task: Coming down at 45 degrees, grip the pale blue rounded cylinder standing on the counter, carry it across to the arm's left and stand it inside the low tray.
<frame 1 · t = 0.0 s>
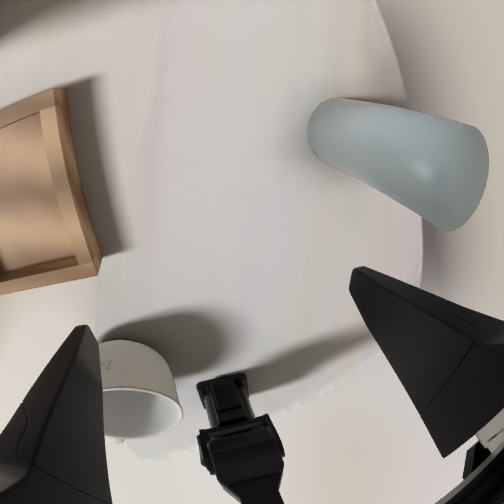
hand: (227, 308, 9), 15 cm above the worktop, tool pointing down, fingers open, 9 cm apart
teacup: (121, 364, 29), on the worktop
tray: (17, 197, 17), on the worktop
pale blue rounded cylinder: (338, 131, 22), on the worktop
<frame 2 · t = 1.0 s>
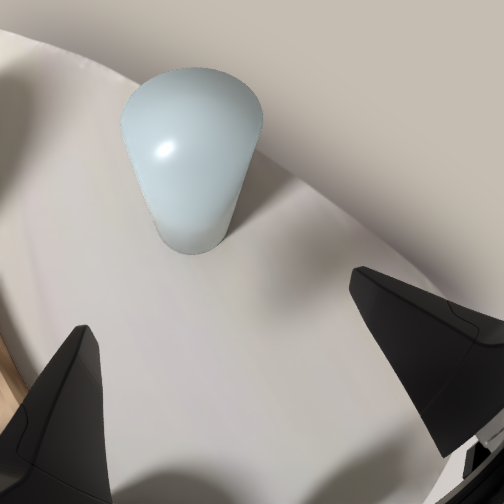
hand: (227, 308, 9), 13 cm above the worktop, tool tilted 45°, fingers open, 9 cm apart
pale blue rounded cylinder: (192, 218, 23), on the worktop
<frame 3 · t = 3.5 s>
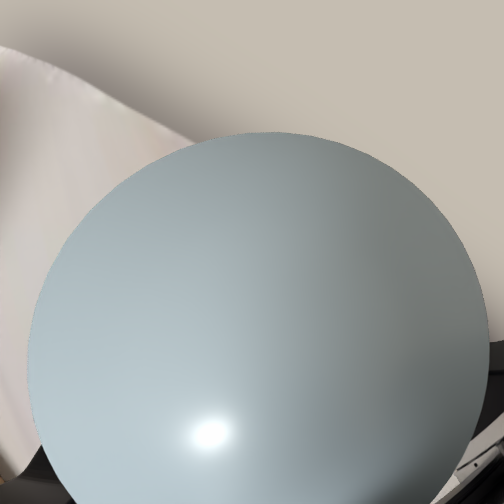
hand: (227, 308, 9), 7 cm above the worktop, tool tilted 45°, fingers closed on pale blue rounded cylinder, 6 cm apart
pale blue rounded cylinder: (221, 341, 15), on the worktop, touching gripper
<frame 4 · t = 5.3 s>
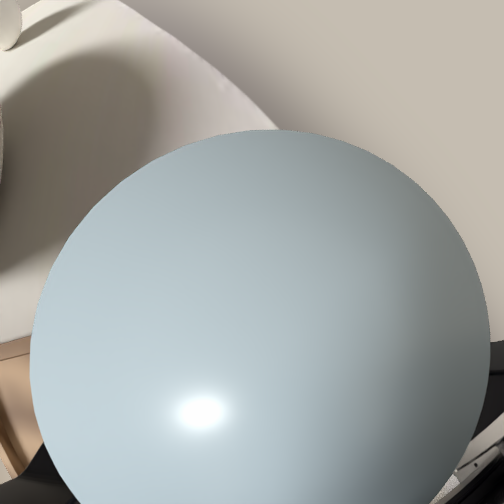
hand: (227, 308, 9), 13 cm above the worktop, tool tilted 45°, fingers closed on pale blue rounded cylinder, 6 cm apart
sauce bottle: (10, 47, 25), on the worktop
tray: (42, 419, 17), on the worktop
pale blue rounded cylinder: (222, 340, 15), point 7 cm above the worktop, touching gripper
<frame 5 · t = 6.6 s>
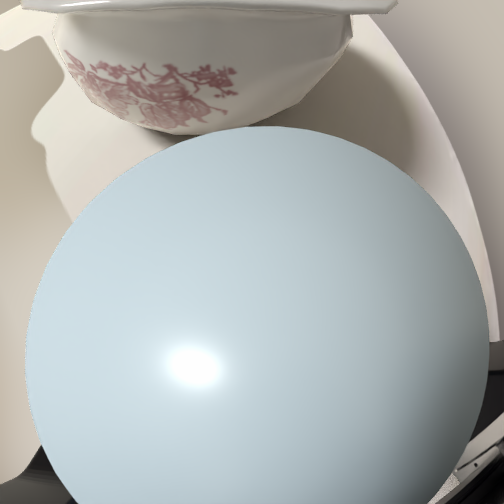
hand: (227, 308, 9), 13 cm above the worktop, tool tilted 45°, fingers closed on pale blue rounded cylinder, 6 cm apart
chamber pot: (197, 78, 27), on the worktop
pale blue rounded cylinder: (221, 339, 15), point 6 cm above the worktop, touching gripper
when the fingers open (9 cm above the worktop, at t = 7.6 s): pale blue rounded cylinder drops 1 cm, resting on tray.
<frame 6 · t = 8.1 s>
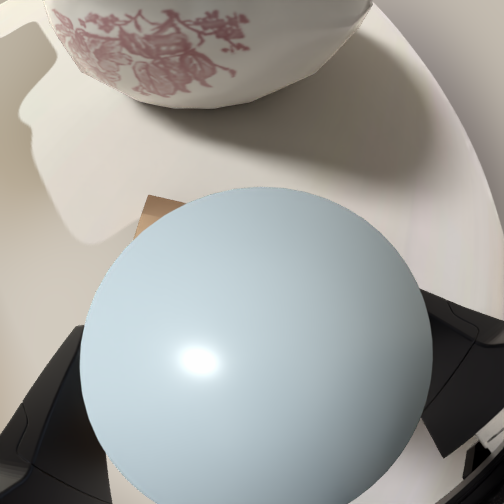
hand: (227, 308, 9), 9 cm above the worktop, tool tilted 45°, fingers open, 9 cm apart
tray: (218, 338, 17), on the worktop
chamber pot: (199, 55, 23), on the worktop
pale blue rounded cylinder: (220, 339, 16), point 1 cm above the worktop, touching tray
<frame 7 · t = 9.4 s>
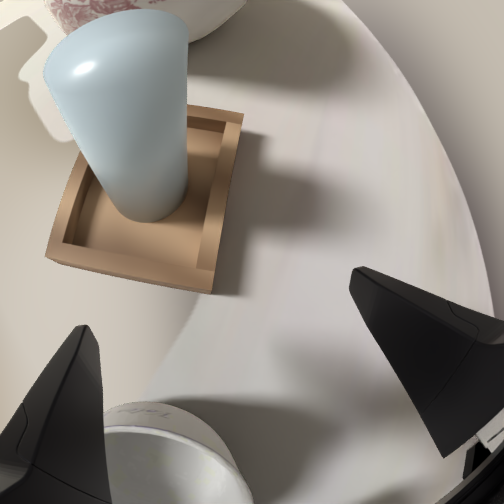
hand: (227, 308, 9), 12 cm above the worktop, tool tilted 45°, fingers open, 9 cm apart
teacup: (149, 462, 17), on the worktop
tray: (150, 190, 21), on the worktop
chamber pot: (153, 24, 27), on the worktop
pale blue rounded cylinder: (148, 184, 20), point 1 cm above the worktop, touching tray
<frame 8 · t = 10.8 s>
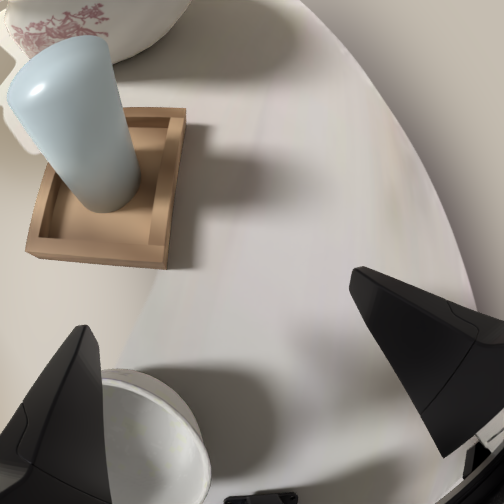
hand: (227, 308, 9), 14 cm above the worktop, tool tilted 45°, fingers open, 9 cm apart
teacup: (128, 435, 18), on the worktop
tray: (110, 185, 23), on the worktop
chamber pot: (109, 39, 28), on the worktop
pale blue rounded cylinder: (108, 180, 22), point 1 cm above the worktop, touching tray
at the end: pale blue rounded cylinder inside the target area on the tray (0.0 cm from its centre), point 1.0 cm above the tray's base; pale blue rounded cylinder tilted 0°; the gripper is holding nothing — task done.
